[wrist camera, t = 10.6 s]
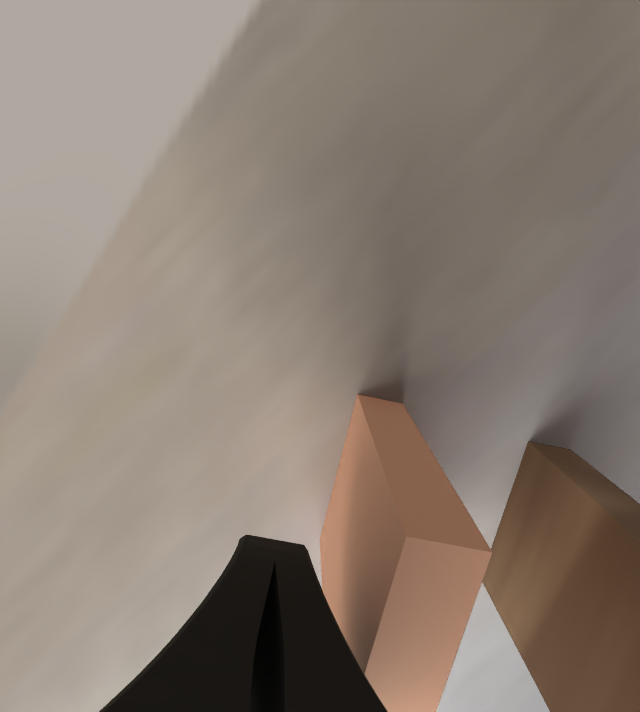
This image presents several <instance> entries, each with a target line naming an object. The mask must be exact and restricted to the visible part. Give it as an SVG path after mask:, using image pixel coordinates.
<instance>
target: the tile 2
mask: <svg viewBox="0 0 640 712" xmlns="http://www.w3.org/2000/svg"><path fill="white" fill-rule="evenodd" d="M491 551H492V555H491V558H490V560H489V563H488V566H487V569H486V572H485V575H484V577H483V580H482V582H483V584H484V586H485V588H486V590H487V592H488V594H489V595H490V597H491V599H492V601H493V603H494V605H495V607H496V609H497V611H498V613H499V615H500V616H501V618H502V620H503V622H504V624H505V626H506V628H507V630H508V632H509V634H510V636H511V638H512V639H513V641H514V643H515V645H516V647H517V649H518V651H519V653H520V655H521V657H522V659H523V660H524V662H525V664H526V666H527V668H528V670H529V672H530V674H531V676H532V678H533V680H534V681H535V683H536V685H537V687H538V689H539V691H540V693H541V695H542V697H543V699H544V701H545V702H546V704H547V706H548V708H549V710H550V712H640V504H639V503H638V502H636V501H635V500H634V499H633V498H631V497H630V496H629V495H628V494H626V493H625V492H624V491H622V490H621V489H620V488H619V487H617V486H616V485H615V484H614V483H612V482H611V481H610V480H608V479H607V478H606V477H605V476H603V475H602V474H601V473H600V472H598V471H597V470H596V469H594V468H593V467H592V466H591V465H589V464H588V463H587V462H586V461H584V460H583V459H582V458H580V457H579V456H578V455H577V454H575V453H574V452H573V451H572V450H569V449H564V448H559V447H554V446H549V445H544V444H539V443H534V442H529V441H528V444H527V447H526V450H525V453H524V456H523V459H522V461H521V464H520V467H519V470H518V473H517V476H516V479H515V482H514V484H513V487H512V490H511V493H510V496H509V499H508V502H507V505H506V508H505V510H504V513H503V516H502V519H501V522H500V525H499V528H498V531H497V533H496V536H495V539H494V542H493V545H492V548H491Z"/></svg>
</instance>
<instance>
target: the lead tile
mask: <svg viewBox="0 0 640 712" xmlns="http://www.w3.org/2000/svg"><path fill="white" fill-rule="evenodd" d="M320 552H321V571H322V591H323V593H324V595H325V598H326V600H327V602H328V604H329V607H330V609H331V611H332V613H333V615H334V617H335V619H336V621H337V624H338V626H339V628H340V630H341V632H342V634H343V636H344V638H345V640H346V642H347V644H348V646H349V647H350V649H351V651H352V653H353V655H354V656H355V658H356V660H357V662H358V664H359V666H360V667H361V669H362V671H363V673H364V674H365V676H366V678H367V679H368V681H369V683H370V684H371V686H372V688H373V689H374V691H375V693H376V694H377V696H378V697H379V699H380V700H381V702H382V703H383V705H384V707H385V708H386V710H387V711H388V712H436V710H437V708H438V705H439V702H440V699H441V696H442V693H443V691H444V688H445V685H446V682H447V679H448V676H449V674H450V671H451V668H452V665H453V662H454V659H455V657H456V654H457V651H458V648H459V645H460V642H461V640H462V637H463V634H464V631H465V628H466V625H467V623H468V620H469V617H470V614H471V611H472V608H473V606H474V603H475V600H476V597H477V594H478V591H479V589H480V586H481V583H482V580H483V577H484V575H485V572H486V569H487V566H488V563H489V560H490V558H491V555H492V551H491V549H490V548H489V546H488V544H487V543H486V541H485V539H484V538H483V536H482V534H481V533H480V531H479V529H478V528H477V526H476V524H475V523H474V521H473V519H472V518H471V516H470V514H469V513H468V511H467V509H466V508H465V506H464V505H463V503H462V501H461V500H460V498H459V496H458V495H457V493H456V491H455V490H454V488H453V486H452V485H451V483H450V481H449V480H448V478H447V476H446V475H445V473H444V471H443V470H442V468H441V466H440V465H439V463H438V461H437V460H436V458H435V456H434V455H433V453H432V451H431V450H430V448H429V446H428V445H427V443H426V441H425V440H424V438H423V436H422V435H421V433H420V431H419V430H418V428H417V426H416V425H415V423H414V421H413V420H412V418H411V416H410V415H409V413H408V411H407V410H406V408H405V406H404V405H403V404H402V403H397V402H392V401H388V400H383V399H378V398H373V397H369V396H364V395H359V394H357V398H356V402H355V406H354V409H353V413H352V417H351V421H350V425H349V429H348V433H347V437H346V441H345V444H344V448H343V452H342V456H341V460H340V464H339V468H338V472H337V475H336V479H335V483H334V487H333V491H332V495H331V499H330V503H329V506H328V510H327V514H326V518H325V522H324V526H323V530H322V534H321V537H320Z"/></svg>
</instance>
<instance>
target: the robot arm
mask: <svg viewBox="0 0 640 712" xmlns="http://www.w3.org/2000/svg"><path fill="white" fill-rule="evenodd" d="M99 712H388V711H387V710H386V708H385V707H384V705H383V703H382V702H381V700H380V699H379V697H378V696H377V694H376V693H375V691H374V689H373V688H372V686H371V684H370V683H369V681H368V679H367V678H366V676H365V674H364V673H363V671H362V669H361V667H360V666H359V664H358V662H357V660H356V658H355V656H354V655H353V653H352V651H351V649H350V647H349V646H348V644H347V642H346V640H345V638H344V636H343V634H342V632H341V630H340V628H339V626H338V624H337V621H336V619H335V617H334V615H333V613H332V611H331V609H330V607H329V604H328V602H327V600H326V598H325V595H324V593H323V591H322V588H321V586H320V583H319V581H318V578H317V576H316V573H315V571H314V568H313V565H312V562H311V559H310V556H309V553H308V550H307V549H306V547H305V546H304V545H301V544H296V543H290V542H285V541H279V540H273V539H268V538H262V537H257V536H251V535H245V536H243V537H242V538H240V540H239V543H238V546H237V548H236V550H235V552H234V554H233V556H232V558H231V560H230V562H229V563H228V565H227V566H226V568H225V570H224V571H223V573H222V575H221V576H220V578H219V579H218V580H217V582H216V583H215V585H214V586H213V588H212V589H211V590H210V592H209V593H208V595H207V596H206V598H205V599H204V600H203V602H202V603H201V604H200V606H199V607H198V608H197V609H196V610H195V612H194V613H193V614H192V615H191V617H190V618H189V619H188V620H187V621H186V623H185V624H184V625H183V626H182V628H181V629H180V630H179V631H178V633H177V634H176V635H175V636H174V637H173V638H172V639H171V641H170V642H169V643H168V644H167V645H166V646H165V647H164V648H163V649H162V651H161V652H160V653H159V654H158V655H157V656H156V657H155V658H154V659H153V660H152V661H151V662H150V663H149V664H148V665H147V666H146V667H145V668H144V669H143V670H142V671H141V672H140V674H139V675H138V676H136V677H135V678H134V679H133V680H132V681H131V682H130V683H129V684H128V685H127V686H126V687H125V688H124V689H123V690H122V691H121V692H120V693H119V694H118V695H117V696H115V697H114V698H113V699H112V700H111V701H110V702H109V703H108V704H107V705H106V706H105V707H104V708H103V709H102V710H100V711H99Z"/></svg>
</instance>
